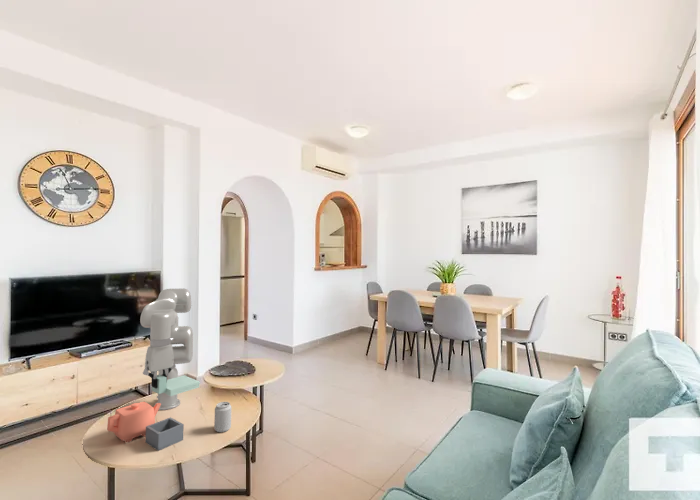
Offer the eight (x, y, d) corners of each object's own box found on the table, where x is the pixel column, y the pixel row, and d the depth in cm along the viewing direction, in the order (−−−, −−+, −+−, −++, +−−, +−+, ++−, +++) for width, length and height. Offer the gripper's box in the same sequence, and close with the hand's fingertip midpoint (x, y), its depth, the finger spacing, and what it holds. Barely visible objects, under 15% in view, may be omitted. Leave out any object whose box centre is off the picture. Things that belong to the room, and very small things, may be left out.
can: (234, 427, 172) (234, 402, 172) (223, 434, 165) (224, 408, 165) (221, 424, 174) (222, 399, 174) (210, 431, 167) (211, 405, 167)
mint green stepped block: (147, 390, 152) (148, 374, 152) (183, 380, 165) (184, 365, 165) (163, 398, 145) (163, 381, 145) (199, 387, 157) (200, 371, 158)
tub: (145, 442, 156) (145, 426, 157) (170, 432, 166) (170, 417, 166) (158, 450, 150) (158, 434, 150) (183, 440, 159) (183, 424, 159)
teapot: (154, 421, 175) (155, 393, 176) (166, 430, 168) (167, 400, 168) (102, 439, 158) (103, 407, 158) (112, 449, 150) (113, 416, 150)
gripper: (174, 337, 159) (173, 379, 158) (135, 344, 145) (134, 389, 145) (183, 340, 154) (182, 382, 154) (144, 347, 141) (142, 394, 141)
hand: (159, 385), depth 150 cm, fingers closed on mint green stepped block, 3 cm apart
